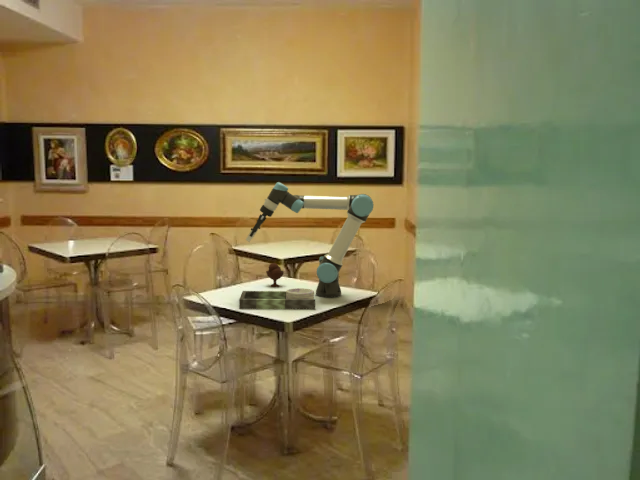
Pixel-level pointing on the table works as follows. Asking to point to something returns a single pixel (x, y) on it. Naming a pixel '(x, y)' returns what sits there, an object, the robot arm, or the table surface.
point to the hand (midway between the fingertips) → (249, 239)
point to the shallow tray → (272, 301)
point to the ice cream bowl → (274, 273)
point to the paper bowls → (299, 294)
